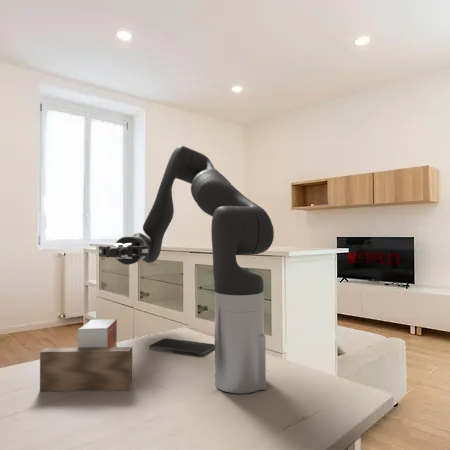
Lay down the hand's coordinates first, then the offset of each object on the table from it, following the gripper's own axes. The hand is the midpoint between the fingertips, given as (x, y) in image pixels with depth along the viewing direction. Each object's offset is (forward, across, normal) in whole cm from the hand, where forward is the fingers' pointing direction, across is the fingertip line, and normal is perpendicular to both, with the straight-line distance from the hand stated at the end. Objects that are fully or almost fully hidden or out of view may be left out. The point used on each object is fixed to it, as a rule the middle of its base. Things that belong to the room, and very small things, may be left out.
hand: (113, 252), depth 85 cm
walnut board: (+16, 0, +24) cm, 29 cm away
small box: (+11, 0, +24) cm, 27 cm away
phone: (-7, +15, +24) cm, 30 cm away
